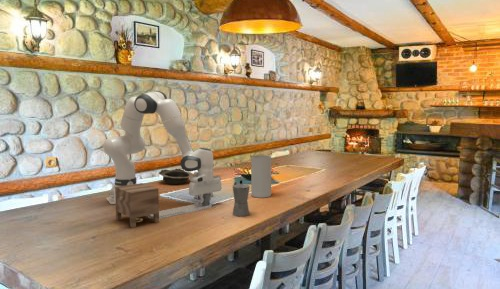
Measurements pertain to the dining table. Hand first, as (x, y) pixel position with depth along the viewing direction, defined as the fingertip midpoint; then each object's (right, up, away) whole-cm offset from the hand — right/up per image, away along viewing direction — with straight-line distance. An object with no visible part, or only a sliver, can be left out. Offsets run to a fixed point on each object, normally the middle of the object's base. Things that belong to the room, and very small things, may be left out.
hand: (205, 200), depth 214 cm
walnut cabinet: (-31, -6, -27) cm, 41 cm away
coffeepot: (+20, -5, -14) cm, 25 cm away
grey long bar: (-12, -4, -10) cm, 17 cm away
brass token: (-31, -6, -27) cm, 41 cm away
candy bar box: (-4, -1, +21) cm, 21 cm away
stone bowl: (-29, +3, +68) cm, 74 cm away
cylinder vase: (+32, -1, +26) cm, 41 cm away
